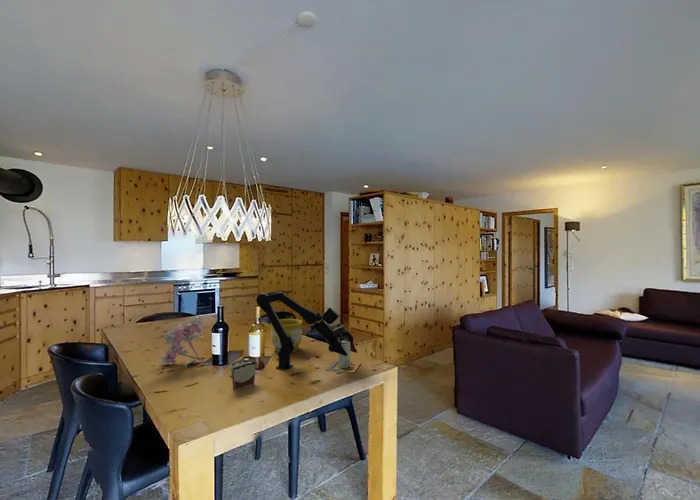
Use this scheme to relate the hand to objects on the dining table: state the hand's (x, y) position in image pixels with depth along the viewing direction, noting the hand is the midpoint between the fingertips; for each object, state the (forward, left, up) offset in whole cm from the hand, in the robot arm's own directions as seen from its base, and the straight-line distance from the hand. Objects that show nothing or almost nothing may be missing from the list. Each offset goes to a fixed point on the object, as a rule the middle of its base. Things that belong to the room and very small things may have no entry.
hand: (346, 353), depth 177 cm
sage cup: (0, +1, -6) cm, 7 cm away
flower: (-20, +82, -7) cm, 85 cm away
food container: (-35, +37, -7) cm, 52 cm away
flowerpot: (+19, +42, -7) cm, 46 cm away
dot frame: (0, +1, -7) cm, 7 cm away
